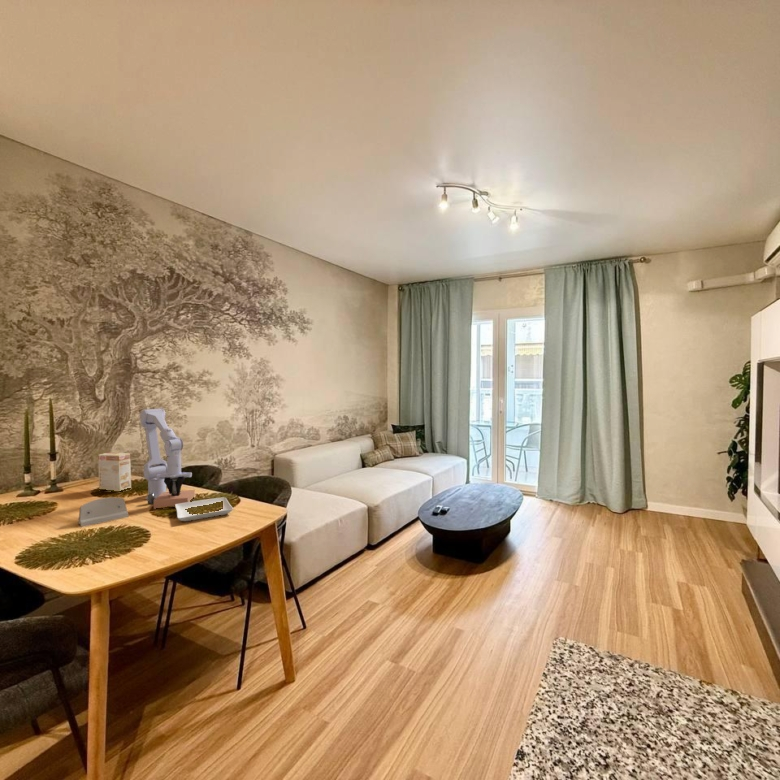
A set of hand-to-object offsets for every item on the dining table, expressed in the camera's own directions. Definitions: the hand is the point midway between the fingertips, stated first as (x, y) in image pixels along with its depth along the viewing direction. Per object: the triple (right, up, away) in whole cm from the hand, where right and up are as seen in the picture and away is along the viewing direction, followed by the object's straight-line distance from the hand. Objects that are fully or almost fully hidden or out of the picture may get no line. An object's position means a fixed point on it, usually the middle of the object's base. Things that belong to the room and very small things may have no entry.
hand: (174, 493), depth 186 cm
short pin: (-11, -5, 0) cm, 12 cm away
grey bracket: (-18, -6, -21) cm, 28 cm away
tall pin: (0, -3, 0) cm, 3 cm away
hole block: (0, -5, 0) cm, 5 cm away
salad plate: (+20, -5, -14) cm, 25 cm away
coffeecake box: (-46, -5, +25) cm, 53 cm away
